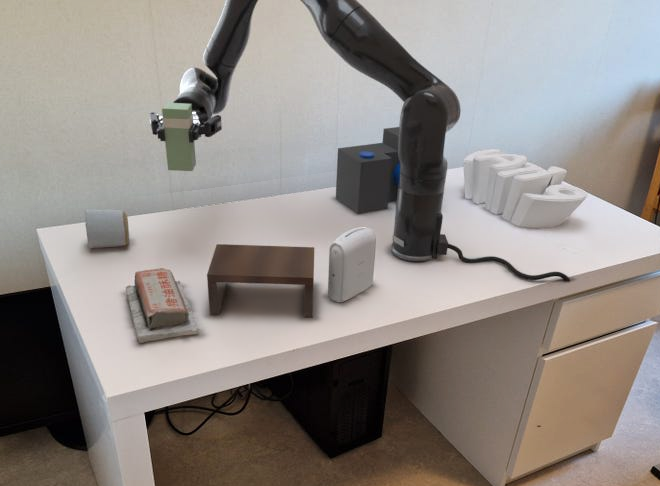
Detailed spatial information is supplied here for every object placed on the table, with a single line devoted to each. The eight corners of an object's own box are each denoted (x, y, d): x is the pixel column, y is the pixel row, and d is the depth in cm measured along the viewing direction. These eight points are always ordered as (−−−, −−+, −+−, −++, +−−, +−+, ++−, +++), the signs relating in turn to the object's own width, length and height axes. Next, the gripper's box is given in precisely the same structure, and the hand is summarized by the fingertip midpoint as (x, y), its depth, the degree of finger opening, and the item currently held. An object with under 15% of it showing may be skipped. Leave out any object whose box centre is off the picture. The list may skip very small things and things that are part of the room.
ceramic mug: (131, 251, 135) (126, 215, 131) (89, 254, 133) (82, 218, 129) (129, 231, 144) (124, 196, 140) (90, 233, 142) (83, 199, 138)
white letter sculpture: (445, 186, 175) (451, 146, 169) (495, 179, 181) (502, 140, 175) (533, 238, 149) (543, 193, 143) (587, 228, 156) (600, 184, 150)
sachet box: (196, 164, 125) (191, 103, 119) (192, 171, 122) (187, 109, 116) (171, 163, 125) (166, 102, 119) (167, 170, 122) (161, 108, 115)
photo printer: (341, 305, 121) (345, 243, 114) (324, 297, 123) (326, 235, 116) (375, 286, 128) (381, 226, 121) (358, 278, 130) (362, 219, 123)
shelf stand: (313, 285, 127) (314, 247, 122) (312, 317, 117) (313, 277, 112) (218, 282, 126) (216, 243, 122) (210, 315, 116) (206, 274, 112)
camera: (369, 222, 153) (374, 154, 144) (335, 198, 164) (338, 133, 155) (455, 206, 163) (465, 141, 154) (418, 185, 175) (425, 123, 166)
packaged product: (122, 269, 118) (178, 262, 122) (125, 293, 121) (180, 286, 124) (134, 319, 105) (197, 310, 108) (138, 345, 108) (199, 335, 111)
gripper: (153, 89, 129) (132, 112, 115) (227, 92, 130) (215, 116, 116) (158, 128, 133) (138, 155, 119) (229, 131, 134) (218, 159, 120)
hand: (176, 136), depth 118 cm, fingers closed on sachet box, 4 cm apart
